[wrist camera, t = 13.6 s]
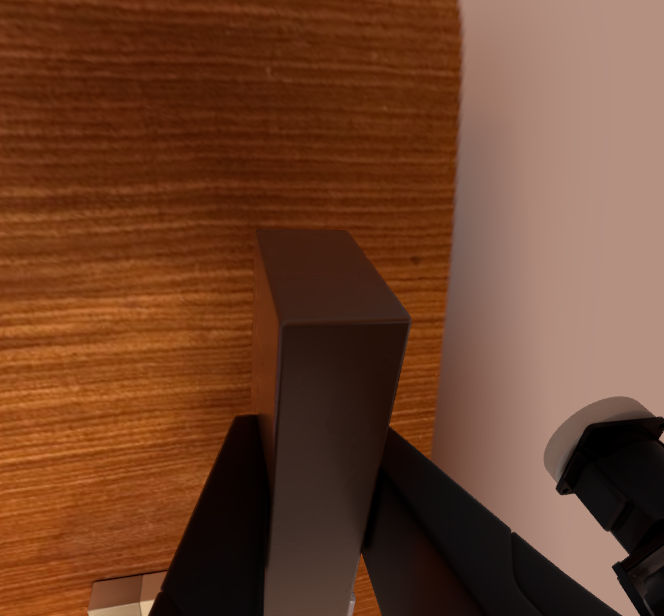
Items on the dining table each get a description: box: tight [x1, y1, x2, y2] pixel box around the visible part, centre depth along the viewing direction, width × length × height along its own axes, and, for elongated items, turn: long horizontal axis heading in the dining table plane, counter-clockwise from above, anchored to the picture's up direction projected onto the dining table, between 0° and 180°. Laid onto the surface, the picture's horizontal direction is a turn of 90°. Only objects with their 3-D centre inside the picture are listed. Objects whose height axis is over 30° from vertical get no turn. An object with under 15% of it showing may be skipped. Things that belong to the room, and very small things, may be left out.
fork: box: [250, 229, 411, 616], centre depth 10 cm, size 4×15×3 cm, turn 174°
